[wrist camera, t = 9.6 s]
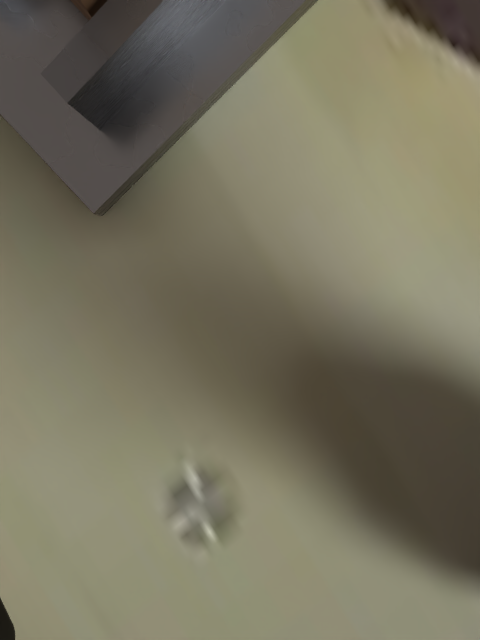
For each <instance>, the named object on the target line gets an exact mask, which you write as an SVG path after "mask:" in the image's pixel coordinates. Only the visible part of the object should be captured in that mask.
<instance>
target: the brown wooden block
mask: <svg viewBox="0 0 480 640" xmlns="http://www.w3.org/2000/svg"><path fill="white" fill-rule="evenodd" d="M71 1H72V3H73V4H74V5H75V6H76V7H77V8H78V9H79V10H80V11H81V13H82V14H83V15H84V16H85V17H86V18H87V19H88V20H90V19H91V18H92V17H93V16H94V15H95V14H96V12H97V11H98V10H99V9H100V8H101V7H102V6H103V5H104V4H105V3H106V2H107V0H71Z"/></svg>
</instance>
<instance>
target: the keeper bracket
mask: <svg viewBox="0 0 480 640" xmlns="http://www.w3.org/2000/svg"><path fill="white" fill-rule="evenodd" d="M316 1H317V0H107V2H106V3H105V4H104V5H103V6H102V7H101V8H100V9H99V10H98V11H97V12H96V14H95V15H94V16H93V17H92V18H91V19H90V20H88V19H87V18H86V17H85V16H84V15H83V14H82V13H81V11H80V10H79V9H78V8H77V7H76V6H75V5H74V4H73V3H72V1H71V0H0V114H1V115H2V116H3V118H4V119H5V120H6V121H7V122H8V123H9V124H10V125H11V126H12V127H13V128H14V129H15V130H16V131H17V132H18V133H19V135H20V136H21V137H22V138H23V139H24V140H25V141H26V142H27V143H28V144H29V145H30V146H31V147H32V148H33V149H34V151H35V152H36V153H37V154H38V155H39V156H40V157H41V158H42V159H43V160H44V161H45V162H46V163H47V164H48V165H49V167H50V168H51V169H52V170H53V171H54V172H55V173H56V174H57V175H58V176H59V177H60V178H61V179H62V180H63V181H64V182H65V184H66V185H67V186H68V187H69V188H70V189H71V190H72V191H73V192H74V193H75V194H76V195H77V196H78V197H79V198H80V200H81V201H82V202H83V203H84V204H85V205H86V206H87V207H88V208H89V209H90V210H91V211H92V212H93V213H94V214H98V215H103V214H104V213H105V212H106V211H107V210H108V209H109V208H110V207H111V206H112V205H113V204H114V203H115V202H116V201H117V200H118V199H119V198H120V197H121V196H122V195H123V194H124V193H125V192H126V191H127V190H128V189H129V188H130V187H131V186H132V185H133V184H134V183H135V182H136V181H137V180H138V179H139V178H140V177H141V176H142V175H143V174H144V173H145V172H146V171H147V170H148V169H149V168H150V167H151V166H152V165H153V164H154V163H155V162H156V161H157V160H158V159H159V158H160V157H161V156H162V155H163V154H164V153H165V152H166V151H167V150H168V149H169V148H170V147H171V146H172V145H173V144H174V143H175V142H176V141H177V140H178V139H179V138H180V137H181V136H182V135H183V134H184V133H185V132H186V131H187V130H188V129H189V128H190V127H191V126H192V125H193V124H194V123H195V122H196V121H197V120H198V119H199V118H200V117H201V116H202V115H203V114H204V113H205V112H206V111H207V110H208V109H209V108H210V107H211V106H212V105H213V104H214V103H215V102H216V101H217V100H218V99H219V98H220V97H221V96H222V95H223V94H224V93H225V92H226V91H227V90H228V89H229V88H230V87H231V86H232V85H233V84H234V83H235V82H236V81H237V80H238V79H239V78H240V77H241V76H242V75H243V74H244V73H245V72H246V71H247V70H248V69H249V68H250V67H251V66H252V65H253V64H254V63H255V62H256V61H257V60H258V59H259V58H260V57H261V56H262V55H263V54H264V53H265V52H266V51H267V50H268V49H269V48H270V47H271V46H272V45H273V44H274V43H275V42H276V41H277V40H278V39H279V38H280V37H281V36H282V35H283V34H284V33H285V32H286V31H287V30H288V29H289V28H290V27H291V26H292V25H293V24H294V23H295V22H296V21H297V20H298V19H299V18H300V17H301V16H302V15H303V14H304V13H305V12H306V11H307V10H308V9H309V8H310V7H311V6H312V5H313V4H314V3H315V2H316Z"/></svg>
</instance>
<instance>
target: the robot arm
mask: <svg viewBox="0 0 480 640" xmlns="http://www.w3.org/2000/svg"><path fill="white" fill-rule="evenodd" d="M0 640H15V630H14V626H13V623H12V621H11V619H10V617H9V615H8V613H7V611H6V609H5V607H4V605H3V602H2V600H1V598H0Z"/></svg>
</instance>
